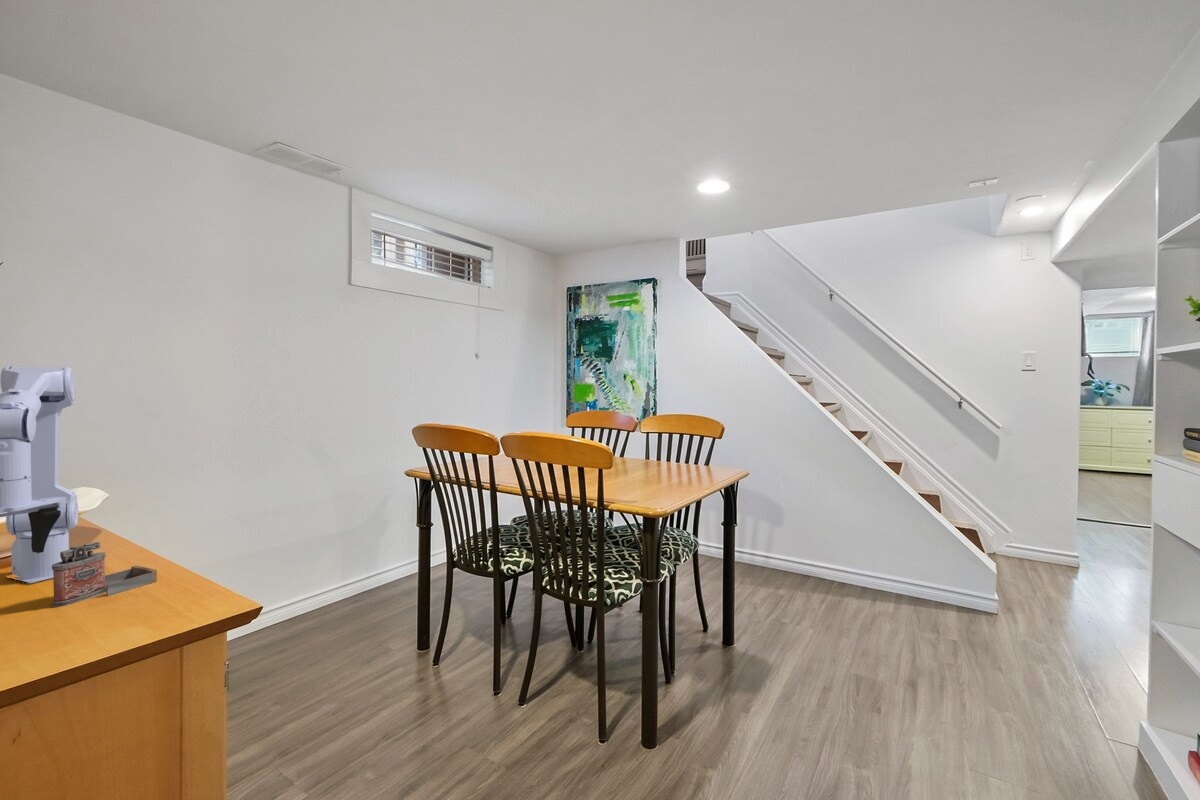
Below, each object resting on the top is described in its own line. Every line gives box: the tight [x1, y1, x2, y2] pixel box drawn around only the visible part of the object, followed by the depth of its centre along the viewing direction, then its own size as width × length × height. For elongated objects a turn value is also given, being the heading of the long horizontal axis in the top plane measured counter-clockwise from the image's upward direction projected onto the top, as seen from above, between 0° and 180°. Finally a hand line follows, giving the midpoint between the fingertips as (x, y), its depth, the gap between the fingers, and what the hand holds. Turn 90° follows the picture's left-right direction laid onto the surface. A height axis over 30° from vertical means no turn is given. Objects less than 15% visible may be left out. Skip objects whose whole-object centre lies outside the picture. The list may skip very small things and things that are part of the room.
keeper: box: [105, 565, 158, 597], centre depth 105 cm, size 7×8×2 cm
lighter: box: [51, 541, 107, 608], centre depth 98 cm, size 8×3×10 cm, turn 168°
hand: (8, 558), depth 89 cm, fingers open, 7 cm apart
